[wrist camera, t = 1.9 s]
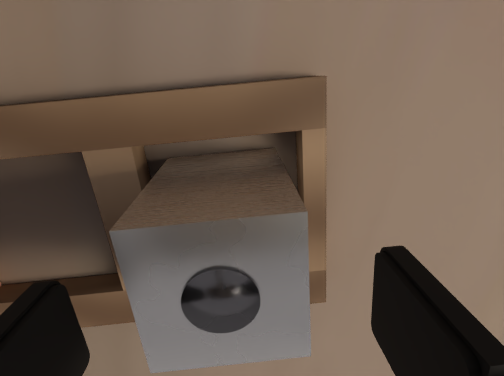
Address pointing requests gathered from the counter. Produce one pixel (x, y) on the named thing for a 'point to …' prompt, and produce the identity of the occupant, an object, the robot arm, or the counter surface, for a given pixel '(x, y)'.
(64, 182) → the counter surface
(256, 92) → the rail
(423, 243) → the counter surface
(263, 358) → the steel plug
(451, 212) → the counter surface
